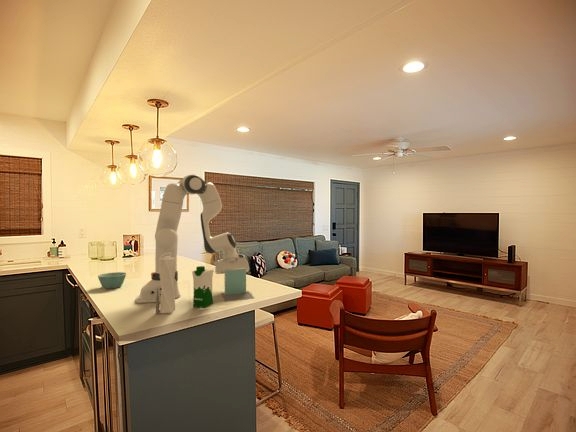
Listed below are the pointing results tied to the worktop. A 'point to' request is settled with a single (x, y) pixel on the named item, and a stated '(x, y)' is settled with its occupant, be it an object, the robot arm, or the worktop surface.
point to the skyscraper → (166, 285)
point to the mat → (237, 296)
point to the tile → (235, 281)
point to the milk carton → (202, 287)
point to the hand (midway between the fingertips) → (233, 278)
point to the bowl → (112, 279)
